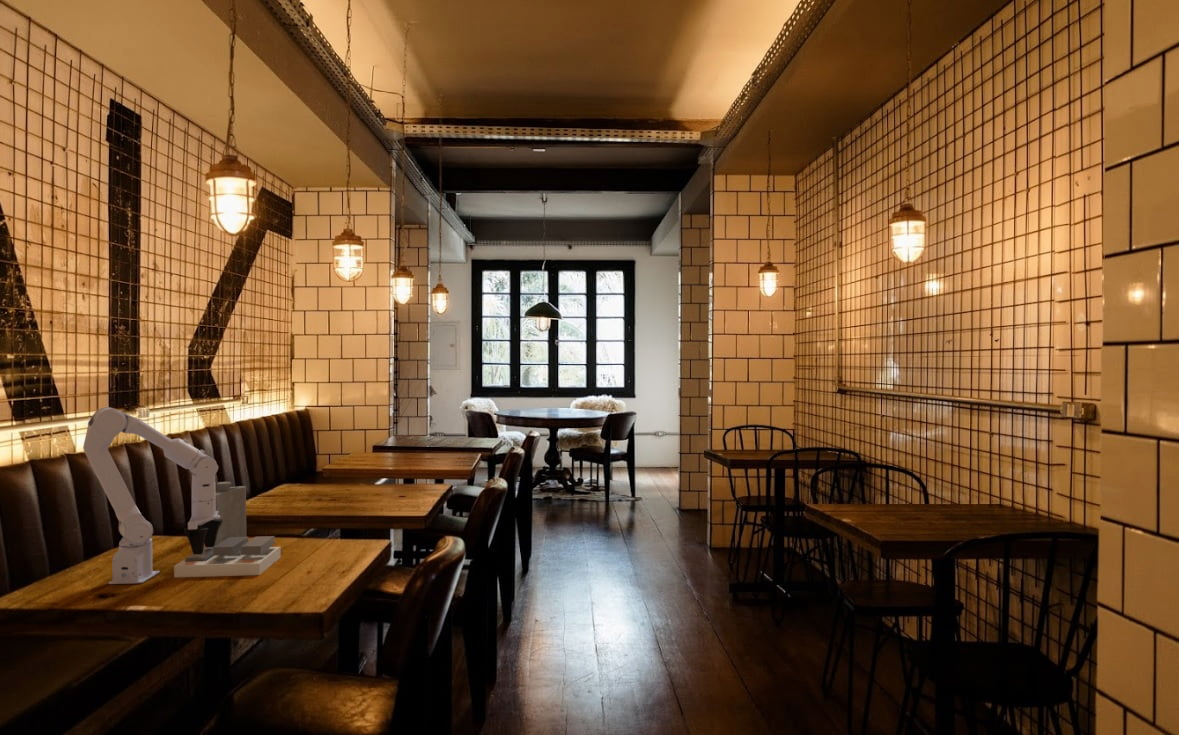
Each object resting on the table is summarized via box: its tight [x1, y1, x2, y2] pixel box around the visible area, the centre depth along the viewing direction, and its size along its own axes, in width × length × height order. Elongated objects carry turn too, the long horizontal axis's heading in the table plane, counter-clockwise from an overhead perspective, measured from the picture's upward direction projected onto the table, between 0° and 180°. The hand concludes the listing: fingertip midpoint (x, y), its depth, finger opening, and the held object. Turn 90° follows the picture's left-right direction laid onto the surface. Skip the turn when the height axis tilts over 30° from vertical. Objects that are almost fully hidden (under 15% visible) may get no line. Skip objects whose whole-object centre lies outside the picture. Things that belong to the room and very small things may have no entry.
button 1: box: [184, 546, 213, 562], centre depth 200 cm, size 11×5×2 cm, turn 5°
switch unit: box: [173, 546, 282, 578], centre depth 200 cm, size 17×21×3 cm
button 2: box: [241, 535, 275, 555], centre depth 202 cm, size 11×5×2 cm, turn 5°
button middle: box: [213, 536, 249, 556], centre depth 201 cm, size 11×5×2 cm, turn 5°
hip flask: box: [214, 481, 247, 546], centre depth 217 cm, size 16×4×20 cm, turn 170°
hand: (203, 550), depth 200 cm, fingers open, 7 cm apart
